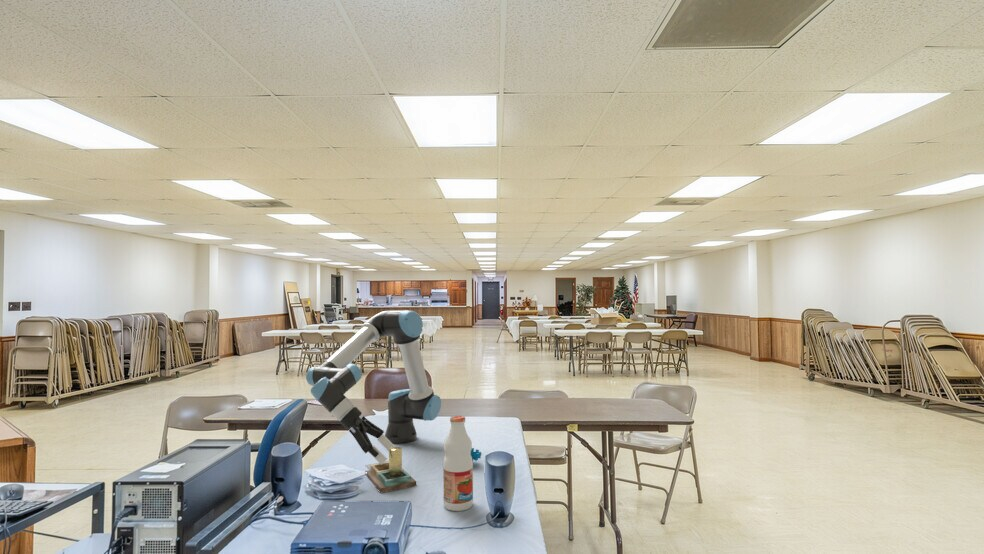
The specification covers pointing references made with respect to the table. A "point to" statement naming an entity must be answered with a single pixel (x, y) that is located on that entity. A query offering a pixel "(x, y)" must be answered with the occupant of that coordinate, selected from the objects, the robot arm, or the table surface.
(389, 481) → the brown wooden flat tray
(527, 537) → the table surface
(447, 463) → the fruit juice
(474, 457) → the gear
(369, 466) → the mat
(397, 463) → the gold metal cylinder
